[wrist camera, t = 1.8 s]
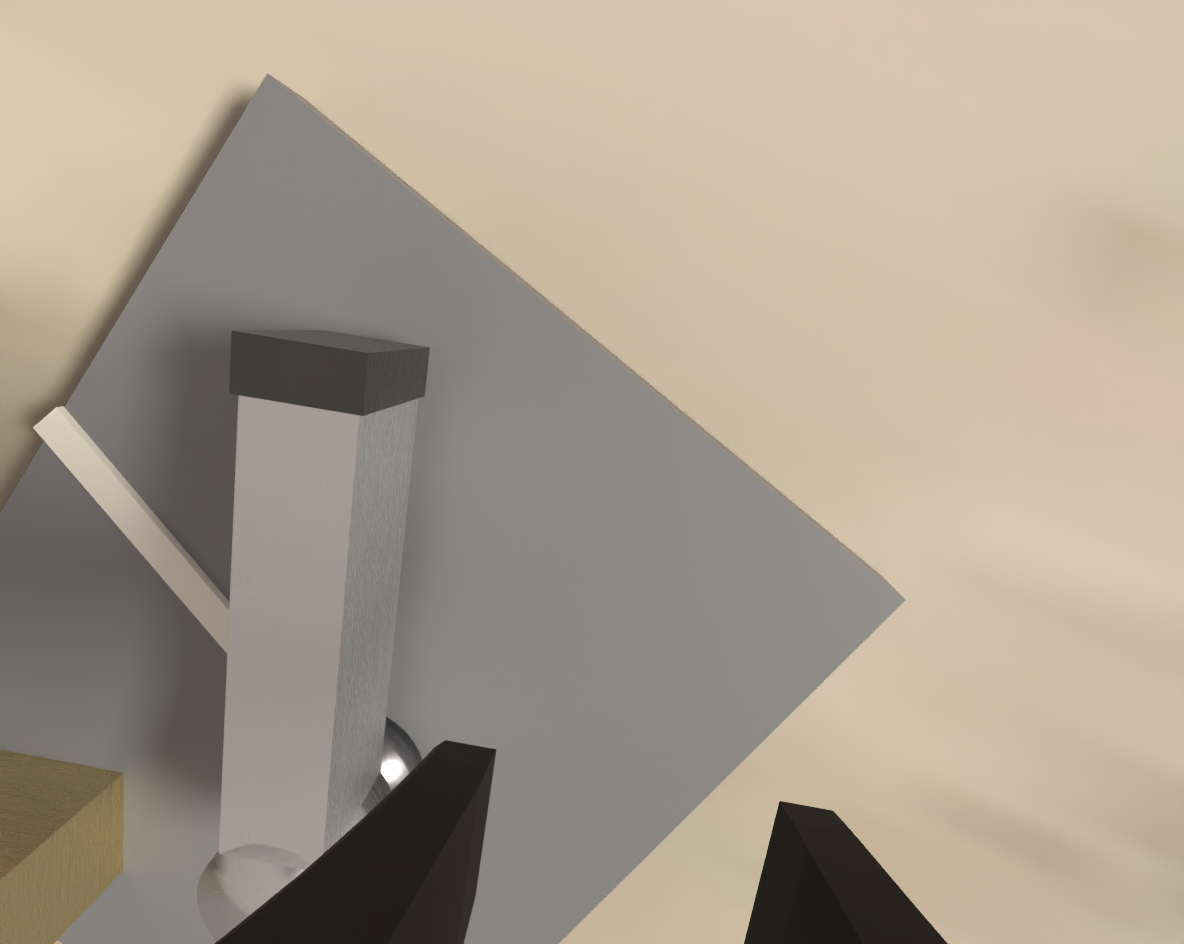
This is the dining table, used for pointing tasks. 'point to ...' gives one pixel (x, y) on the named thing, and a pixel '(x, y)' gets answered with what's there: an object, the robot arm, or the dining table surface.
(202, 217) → the plate
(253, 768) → the bar
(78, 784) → the tan block
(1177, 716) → the dining table surface
